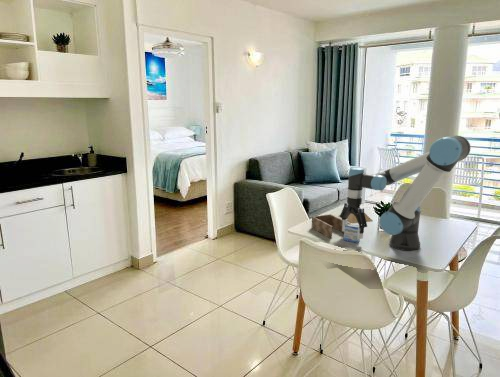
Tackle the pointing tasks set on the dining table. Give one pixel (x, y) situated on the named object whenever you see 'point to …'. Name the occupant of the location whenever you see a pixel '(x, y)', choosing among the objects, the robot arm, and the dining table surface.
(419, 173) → the robot arm
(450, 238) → the dining table surface
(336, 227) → the open wooden shelf
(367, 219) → the model pyramid
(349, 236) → the medicine box
